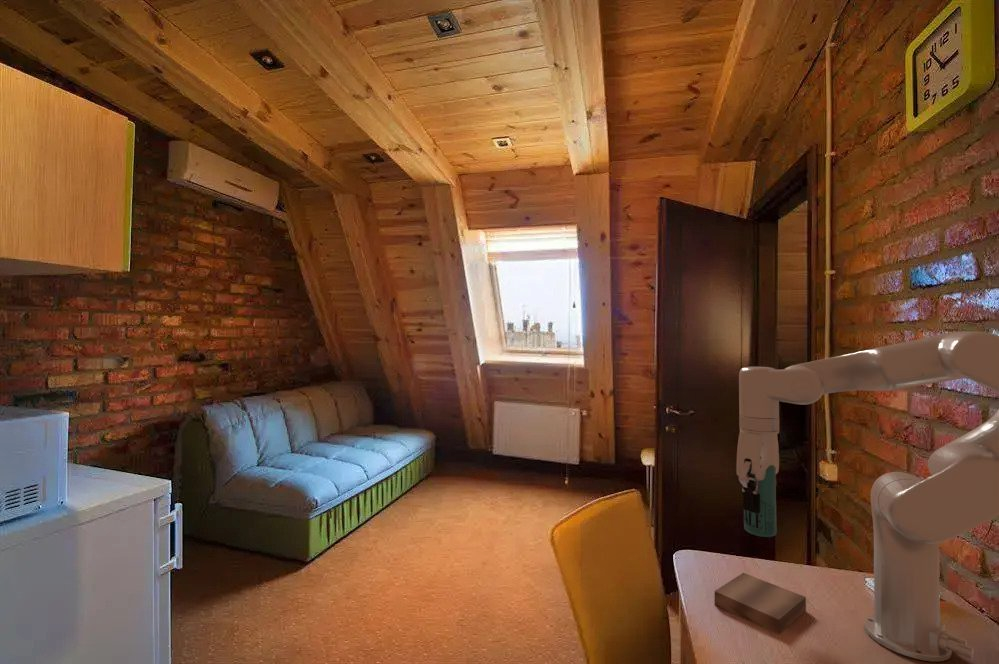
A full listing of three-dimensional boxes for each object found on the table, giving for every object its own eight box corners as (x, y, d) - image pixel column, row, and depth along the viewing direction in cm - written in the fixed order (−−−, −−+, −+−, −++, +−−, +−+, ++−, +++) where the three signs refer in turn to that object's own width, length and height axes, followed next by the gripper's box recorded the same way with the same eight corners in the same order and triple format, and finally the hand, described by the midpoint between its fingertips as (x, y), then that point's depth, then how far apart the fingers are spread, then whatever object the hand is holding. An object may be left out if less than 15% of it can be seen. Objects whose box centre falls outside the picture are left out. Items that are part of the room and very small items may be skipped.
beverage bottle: (778, 536, 103) (777, 443, 103) (776, 547, 97) (775, 450, 97) (744, 529, 106) (743, 440, 106) (741, 540, 101) (740, 446, 101)
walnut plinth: (805, 611, 100) (805, 597, 100) (779, 635, 92) (778, 619, 92) (743, 585, 110) (743, 572, 110) (714, 604, 103) (714, 591, 103)
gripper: (759, 417, 110) (760, 494, 110) (721, 426, 100) (721, 511, 100) (795, 422, 104) (796, 503, 104) (757, 432, 94) (758, 522, 94)
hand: (759, 506), depth 102 cm, fingers closed on beverage bottle, 6 cm apart
